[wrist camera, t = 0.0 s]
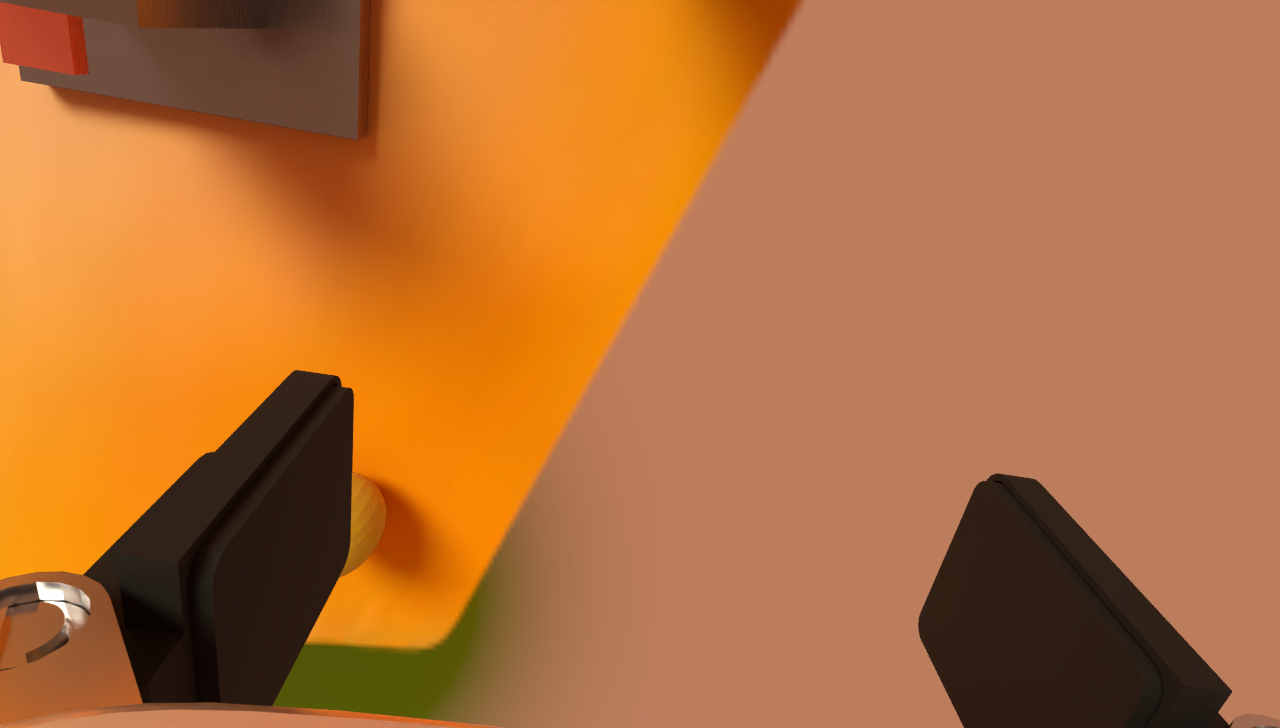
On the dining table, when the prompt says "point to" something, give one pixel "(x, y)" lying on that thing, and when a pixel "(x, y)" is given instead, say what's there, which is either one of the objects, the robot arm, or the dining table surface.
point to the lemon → (364, 521)
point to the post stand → (204, 55)
